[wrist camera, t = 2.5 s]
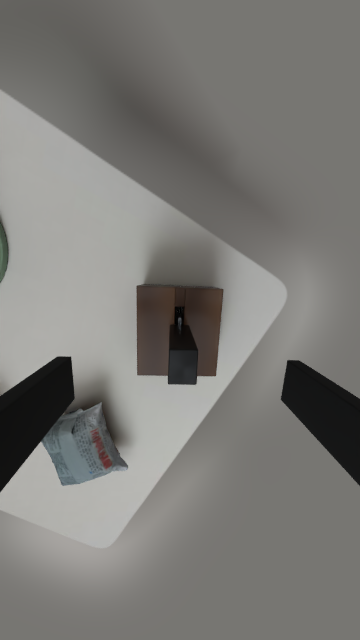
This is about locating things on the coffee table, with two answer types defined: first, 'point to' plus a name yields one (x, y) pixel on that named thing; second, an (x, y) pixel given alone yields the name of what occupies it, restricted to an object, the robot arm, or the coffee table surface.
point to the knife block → (159, 314)
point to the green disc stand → (3, 252)
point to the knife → (182, 354)
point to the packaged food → (82, 447)
